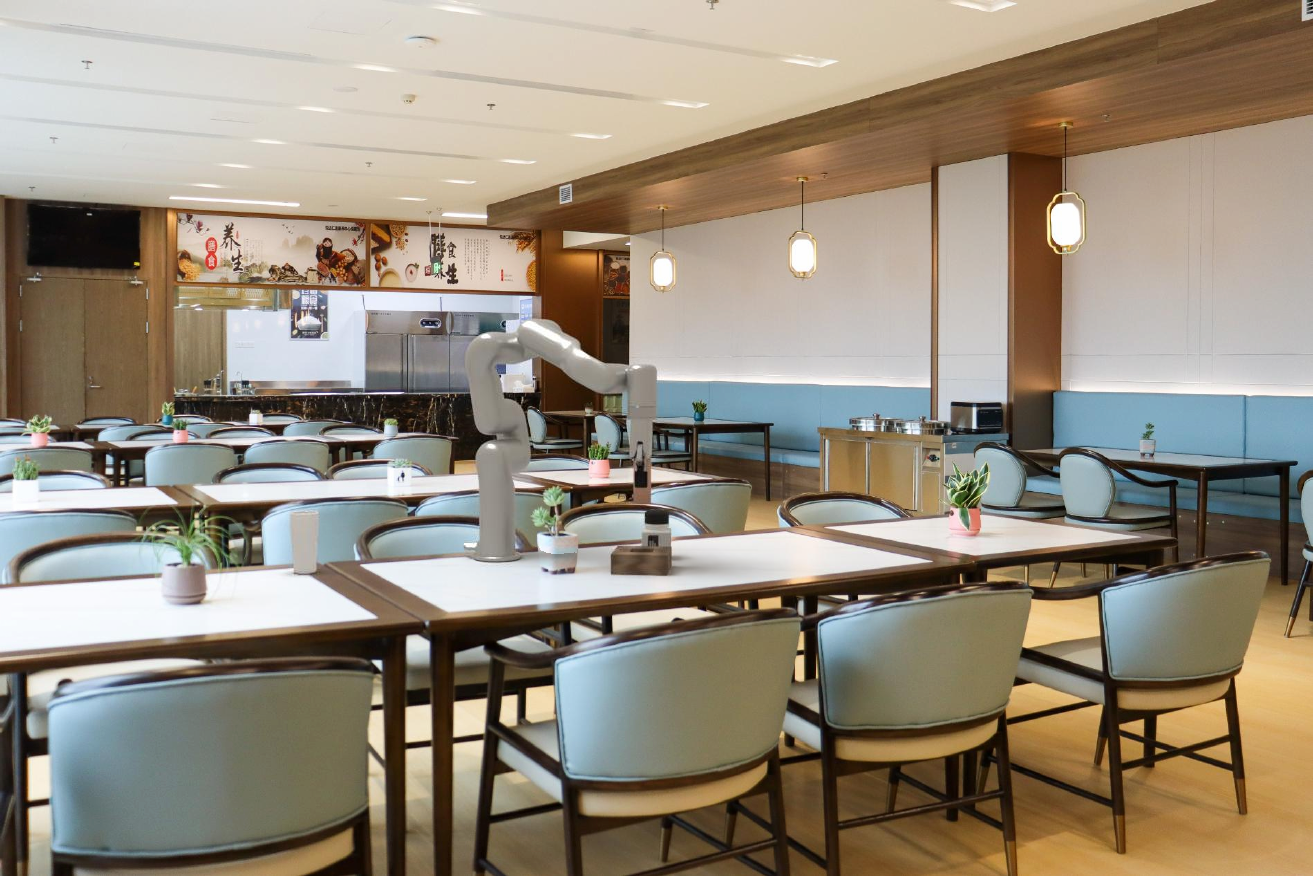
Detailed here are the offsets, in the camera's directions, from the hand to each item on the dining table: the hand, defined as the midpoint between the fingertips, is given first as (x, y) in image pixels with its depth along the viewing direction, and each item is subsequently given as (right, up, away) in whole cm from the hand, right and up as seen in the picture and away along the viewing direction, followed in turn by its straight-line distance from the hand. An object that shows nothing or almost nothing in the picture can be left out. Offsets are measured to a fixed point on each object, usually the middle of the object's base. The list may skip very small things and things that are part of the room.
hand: (642, 485), depth 291 cm
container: (+4, -20, +20) cm, 29 cm away
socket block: (0, -21, +1) cm, 21 cm away
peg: (0, -4, 0) cm, 4 cm away
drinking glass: (-83, -21, -5) cm, 86 cm away
